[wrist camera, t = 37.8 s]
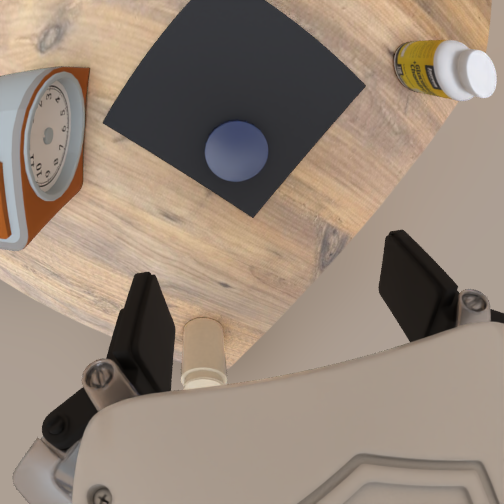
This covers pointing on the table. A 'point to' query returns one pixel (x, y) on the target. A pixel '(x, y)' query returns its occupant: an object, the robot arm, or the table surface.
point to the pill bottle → (445, 69)
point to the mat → (233, 92)
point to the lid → (236, 150)
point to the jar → (203, 354)
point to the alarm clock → (39, 148)
